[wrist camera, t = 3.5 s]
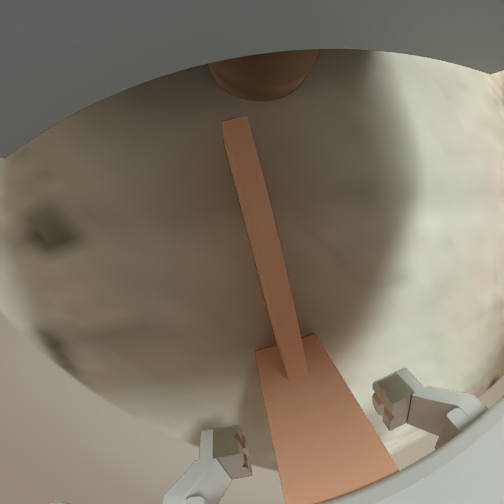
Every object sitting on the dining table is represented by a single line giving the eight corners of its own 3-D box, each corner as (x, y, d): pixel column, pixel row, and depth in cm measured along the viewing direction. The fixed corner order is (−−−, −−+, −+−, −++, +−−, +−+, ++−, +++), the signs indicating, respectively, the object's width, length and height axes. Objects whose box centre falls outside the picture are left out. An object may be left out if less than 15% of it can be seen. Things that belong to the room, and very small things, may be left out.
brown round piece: (289, 23, 10) (298, 1, 8) (317, 95, 10) (333, 79, 8) (200, 35, 9) (196, 12, 7) (220, 112, 10) (219, 95, 8)
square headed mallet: (268, 129, 10) (372, -19, 2) (322, 378, 13) (392, 515, 4) (196, 146, 10) (111, 7, 2) (268, 394, 13) (304, 546, 4)
